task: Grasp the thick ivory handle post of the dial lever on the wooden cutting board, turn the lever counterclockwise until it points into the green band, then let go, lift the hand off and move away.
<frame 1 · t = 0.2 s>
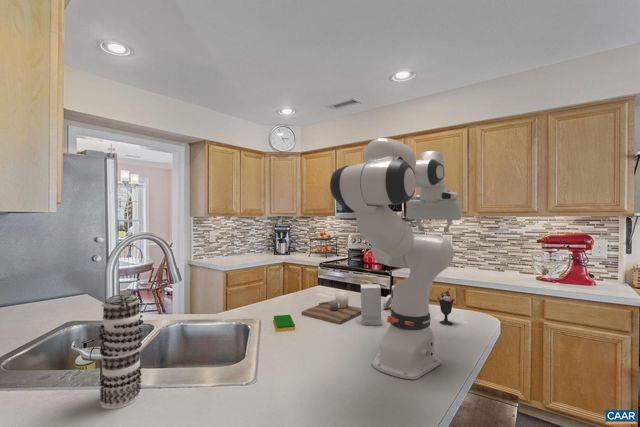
hand: (433, 231, 120), 39 cm above the countertop, tool pointing down, fingers open, 8 cm apart
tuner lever: (338, 300, 148), point 5 cm above the countertop, hinge at 0.0°
spread jar: (395, 311, 149), on the countertop
decorative candle: (121, 399, 78), on the countertop
skincare box: (370, 323, 132), on the countertop
dish sponge: (283, 326, 130), on the countertop
wooden cutting board: (333, 313, 145), on the countertop
sundae: (446, 323, 132), on the countertop
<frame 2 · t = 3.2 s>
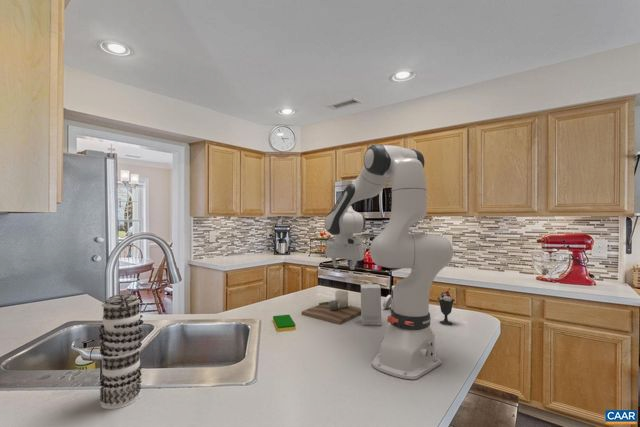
hand: (343, 268, 151), 20 cm above the countertop, tool pointing down, fingers open, 8 cm apart
nothing on the countertop moved.
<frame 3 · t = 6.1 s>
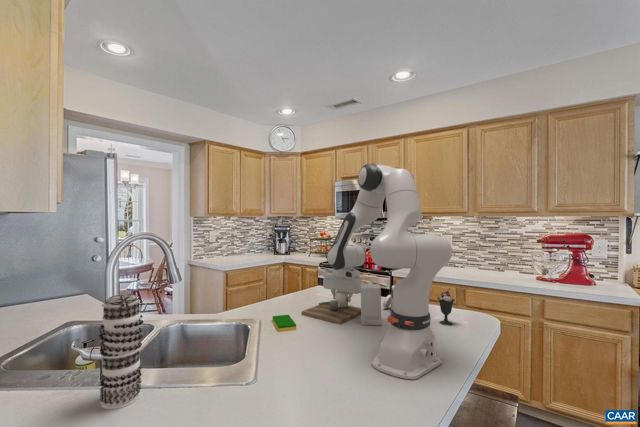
hand: (341, 300, 150), 5 cm above the countertop, tool pointing down, fingers closed on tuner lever, 6 cm apart
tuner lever: (338, 300, 148), point 5 cm above the countertop, hinge at 0.0°, touching gripper
everything else where it was.
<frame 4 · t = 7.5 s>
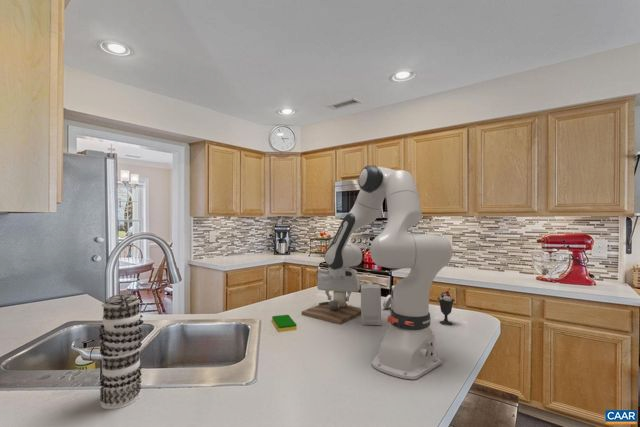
hand: (338, 300, 151), 4 cm above the countertop, tool pointing down, fingers open, 7 cm apart
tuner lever: (337, 299, 149), point 5 cm above the countertop, hinge at 10.0°, touching gripper
everything else where it was.
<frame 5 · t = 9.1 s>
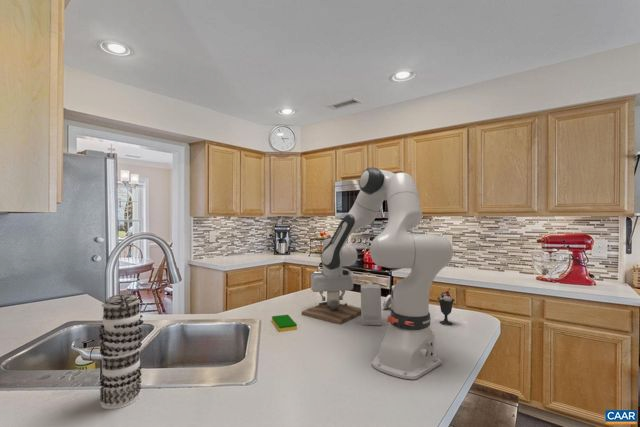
hand: (332, 300, 151), 4 cm above the countertop, tool pointing down, fingers open, 7 cm apart
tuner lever: (333, 299, 149), point 5 cm above the countertop, hinge at 37.5°, touching gripper
everything else where it was.
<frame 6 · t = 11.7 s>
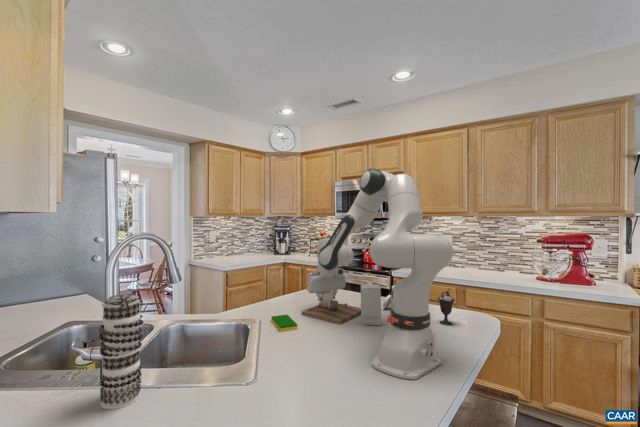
hand: (326, 300, 151), 5 cm above the countertop, tool pointing down, fingers closed on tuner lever, 6 cm apart
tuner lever: (329, 299, 148), point 5 cm above the countertop, hinge at 66.8°, touching gripper
everything else where it was.
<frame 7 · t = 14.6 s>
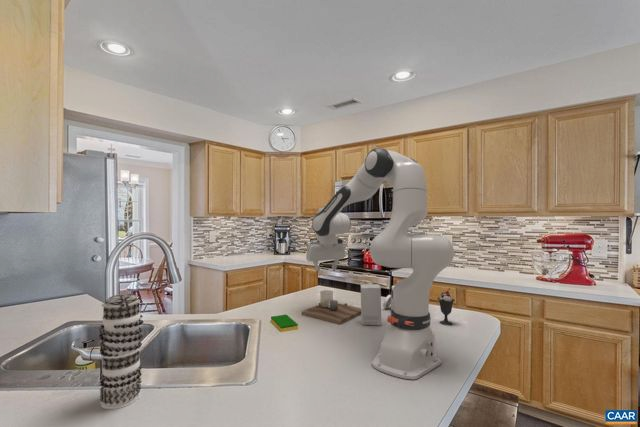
hand: (326, 269, 151), 19 cm above the countertop, tool pointing down, fingers open, 8 cm apart
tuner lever: (329, 299, 148), point 5 cm above the countertop, hinge at 67.2°
everything else where it was.
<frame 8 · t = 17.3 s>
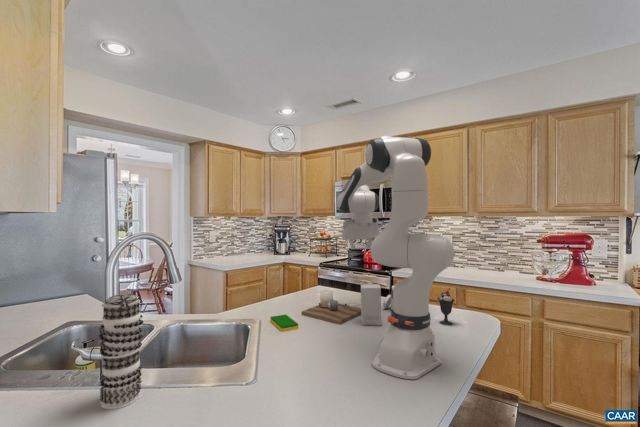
hand: (360, 248, 152), 29 cm above the countertop, tool pointing down, fingers open, 8 cm apart
nothing on the countertop moved.
at the end: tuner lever at +67° (first picture: +0°); the gripper is holding nothing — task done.
